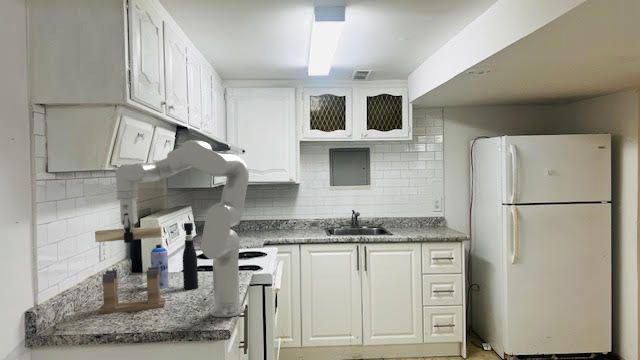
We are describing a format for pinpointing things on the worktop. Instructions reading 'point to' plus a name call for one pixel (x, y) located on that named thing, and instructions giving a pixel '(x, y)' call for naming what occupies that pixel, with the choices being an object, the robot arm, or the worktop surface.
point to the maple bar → (119, 234)
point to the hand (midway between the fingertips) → (129, 241)
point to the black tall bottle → (189, 260)
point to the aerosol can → (161, 264)
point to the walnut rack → (113, 306)
